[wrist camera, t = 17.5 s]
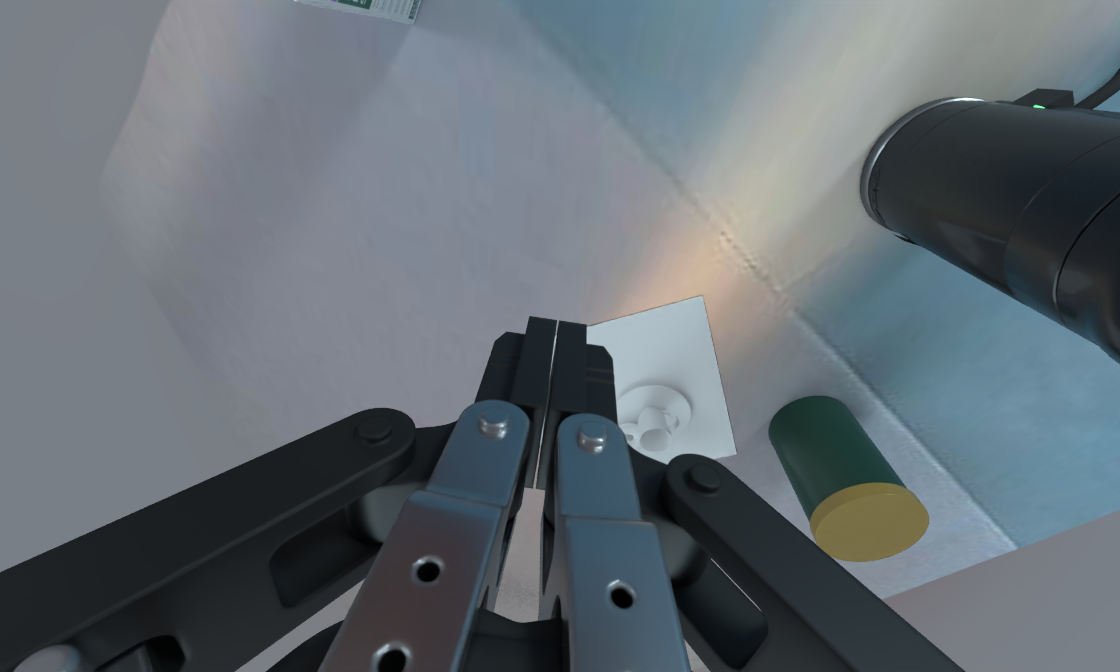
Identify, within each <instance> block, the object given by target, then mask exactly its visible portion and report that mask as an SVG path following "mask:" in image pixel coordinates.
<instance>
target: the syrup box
mask: <svg viewBox="0 0 1120 672" xmlns="http://www.w3.org/2000/svg"><path fill="white" fill-rule="evenodd" d="M294 1H296V2H299V3H303V4H308V5H312V6H317V7H321V8H328V9H333V10H339V11H345V12H351V13H357V14H363V15H368V16H374V17H379V18H384V19H389V20H394V21H398V22H401V23H404V24H408V25H413V24H414V23H415V19H416V16H417V13H418V10H419V6H420V3H421V0H294Z"/></svg>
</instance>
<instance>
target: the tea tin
mask: <svg viewBox="0 0 1120 672" xmlns="http://www.w3.org/2000/svg"><path fill="white" fill-rule="evenodd" d="M769 438H770V440H771V443H772V445H773V447H774V449H775V451H776V453H777V455H778V457H779V459H780V461H781V464H782V466H783V468H784V470H785V472H786V474H787V476H788V478H789V480H790V483H791V485H792V487H793V489H794V491H795V493H796V495H797V497H798V499H799V502H800V504H801V506H802V508H803V510H804V512H805V514H806V516H807V518H808V520H809V523H810V530H811V533H812V535H813V537H814V539H815V541H816V543H817V545H818V546H819V547H820V548H821V549H822V550H823V551H824V552H826V553H827V554H828V555H829V556H831V557H833V558H836V559H839V560H844V561H852V562H865V561H874V560H879V559H883V558H887V557H890V556H893V555H895V554H898V553H900V552H902V551H904V550H906V549H908V548H909V547H911V546H912V545H913V544H915V543H916V542H917V541H918V540H919V539H920V538H921V537H922V536H923V535H924V533H925V531H926V530H927V527H928V524H929V515H928V512H927V510H926V509H925V507H924V506H923V504H922V503H921V502H920V500H919V499H918V498H917V496H916V495H915V494H914V493H913V492H911V491H910V490H908V489H907V488H906V486H905V485H904V483H903V482H902V481H901V479H900V478H899V477H898V475H897V474H896V473H895V471H894V470H893V469H892V467H891V466H890V465H889V463H888V462H887V461H886V459H885V458H884V456H883V455H882V454H881V452H880V451H879V450H878V448H877V447H876V446H875V444H874V443H873V442H872V440H871V439H870V438H869V436H868V435H867V433H866V432H865V431H864V429H863V428H862V427H861V425H860V424H859V423H858V421H857V420H856V419H855V417H854V416H853V415H852V413H851V412H850V410H849V409H848V408H847V407H846V406H845V405H844V404H843V403H842V402H840V401H839V400H837V399H834V398H831V397H826V396H811V397H806V398H802V399H799V400H796V401H794V402H792V403H790V404H788V405H786V406H785V407H783V408H782V409H781V410H780V411H779V412H778V413H777V414H776V415H775V416H774V417H773V419H772V421H771V423H770V426H769Z"/></svg>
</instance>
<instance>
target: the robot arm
mask: <svg viewBox="0 0 1120 672" xmlns="http://www.w3.org/2000/svg"><path fill="white" fill-rule="evenodd" d="M1119 90H1120V69H1119V70H1118V71H1117V73H1116V74H1115V75H1114V76H1113V78H1112V79H1111V80H1110V81H1109V82H1107V83H1106V84H1105V85H1104V86H1102V87H1101V88H1100V89H1098V90H1097V91H1096V92H1094V93H1093V94H1091V95H1090V96H1089V97H1087V98H1086V99H1084V100H1083V101H1081V102H1080V103H1078V104H1077V105H1075V106H1074V97H1073V91H1069V90H1054V89H1039V88H1038V89H1036V90H1034V91H1032V92H1030V93H1029V94H1027V95H1025V96H1023V97H1021V98H1019V99H1017V100H1016V101H1014V102H1011V101H1001V100H1000V101H996V102H987V101H984V100H980V99H974V98H965V97H949V98H942V99H938V100H934V101H931V102H928V103H926V104H923V105H921V106H919V107H917V108H915V109H913V110H912V111H910V112H908V113H907V114H905V115H904V116H903V117H901V118H900V119H899V120H897V121H896V122H895V123H894V124H893V125H892V126H890V127H889V128H888V129H887V130H886V131H885V133H884V134H883V135H882V136H881V137H880V138H879V140H878V141H877V142H876V144H875V145H874V147H873V148H872V150H871V152H870V154H869V155H868V158H867V160H866V162H865V165H864V167H863V171H862V175H861V180H860V195H861V200H862V203H863V206H864V208H865V210H866V212H867V213H868V215H869V216H870V217H871V218H872V219H873V220H874V221H876V222H877V223H878V224H880V225H882V226H884V227H885V228H887V229H889V230H891V231H894V232H897V233H899V234H901V235H903V236H904V237H906V238H908V239H906V238H903V237H900V236H897V235H895V236H897V237H899V238H900V239H902V240H904V241H907V242H910V243H912V244H915V245H918V246H921V247H923V248H925V249H927V250H928V251H930V252H932V253H934V254H936V255H937V256H939V257H941V258H943V259H944V260H946V261H948V262H950V263H952V264H953V265H955V266H957V267H959V268H960V269H962V270H964V271H966V272H967V273H969V274H971V275H973V276H975V277H976V278H978V279H980V280H982V281H983V282H985V283H987V284H989V285H990V286H992V287H994V288H996V289H998V290H999V291H1001V292H1003V293H1005V294H1006V295H1008V296H1010V297H1012V298H1013V299H1015V300H1017V301H1019V302H1021V303H1022V304H1024V305H1026V306H1028V307H1030V308H1032V309H1033V310H1035V311H1037V312H1039V313H1041V314H1042V315H1044V316H1046V317H1048V318H1049V319H1051V320H1053V321H1055V322H1056V323H1058V324H1060V325H1062V326H1064V327H1065V328H1067V329H1069V330H1071V331H1072V332H1074V333H1076V334H1078V335H1080V336H1082V337H1083V338H1085V339H1087V340H1089V341H1091V342H1092V343H1094V344H1096V345H1098V346H1099V347H1100V348H1101V349H1102V350H1103V351H1104V352H1105V353H1106V354H1108V355H1109V356H1110V357H1111V358H1112V359H1113V360H1115V361H1116V362H1117V363H1119V364H1120V112H1110V111H1100V110H1092V109H1093V108H1095V107H1096V106H1098V105H1099V104H1101V103H1102V102H1104V101H1105V100H1107V99H1108V98H1109V97H1111V96H1112V95H1114V94H1115V93H1116V92H1117V91H1119ZM556 324H557V320H552V319H546V318H539V317H532V316H530V317H529V321H528V325H527V329H526V334H519V333H513V332H506V333H504V334H503V335H502V336H501V337H499V338H498V339H497V340H496V341H495V342H494V345H493V348H492V351H491V356H490V357H489V360H488V363H487V366H486V369H485V372H484V375H483V378H482V381H481V384H480V387H479V390H478V393H477V396H476V399H475V402H474V404H472V405H470V406H469V407H467V408H466V409H465V410H464V411H463V412H462V414H461V415H460V417H459V419H458V420H457V421H455V422H453V423H450V424H446V425H442V426H435V427H425V428H415V424H414V422H413V420H412V419H411V418H410V417H409V416H408V415H406V414H405V413H403V412H401V411H398V410H395V409H390V408H373V409H368V410H364V411H361V412H358V413H355V414H353V415H351V416H349V417H347V418H344V419H342V420H340V421H338V422H335V423H333V424H331V425H329V426H326V427H324V428H322V429H320V430H317V431H315V432H313V433H311V434H309V435H306V436H304V437H302V438H300V439H297V440H295V441H293V442H291V443H288V444H286V445H284V446H282V447H279V448H277V449H275V450H273V451H270V452H268V453H266V454H264V455H262V456H259V457H257V458H255V459H253V460H250V461H248V462H246V463H244V464H241V465H239V466H237V467H235V468H232V469H230V470H228V471H226V472H224V473H221V474H219V475H217V476H215V477H212V478H210V479H208V480H206V481H203V482H201V483H199V484H197V485H194V486H192V487H190V488H188V489H185V490H183V491H181V492H179V493H177V494H175V495H172V496H170V497H168V498H166V499H163V500H161V501H159V502H156V503H154V504H152V505H150V506H147V507H145V508H143V509H141V510H139V511H136V512H134V513H132V514H130V515H128V516H125V517H123V518H121V519H118V520H116V521H114V522H112V523H110V524H107V525H105V526H103V527H101V528H98V529H96V530H94V531H92V532H89V533H87V534H85V535H83V536H80V537H78V538H76V539H74V540H72V541H69V542H67V543H65V544H63V545H60V546H58V547H56V548H54V549H51V550H49V551H47V552H45V553H42V554H40V555H38V556H36V557H33V558H31V559H29V560H27V561H24V562H22V563H20V564H18V565H15V566H13V567H11V568H9V569H7V570H4V571H2V572H0V672H235V671H236V670H237V669H239V668H240V667H241V666H243V665H244V664H246V663H247V662H249V661H250V660H251V659H253V658H254V657H255V656H257V655H258V654H260V653H261V652H262V651H264V650H265V649H267V648H268V647H270V646H271V645H272V644H274V643H275V642H276V641H278V640H279V639H281V638H282V637H283V636H285V635H286V634H288V633H289V632H290V631H292V630H293V629H295V628H296V627H297V626H299V625H300V624H302V623H303V622H304V621H306V620H307V619H309V618H310V617H311V616H313V615H314V614H316V613H317V612H318V611H320V610H321V609H323V608H324V607H325V606H327V605H328V604H330V603H331V602H332V601H334V600H335V599H337V598H338V597H339V596H341V595H342V594H344V593H345V592H346V591H348V590H349V589H351V588H352V587H353V586H355V585H356V584H358V583H359V582H360V581H362V580H363V579H365V580H364V582H363V584H362V586H361V588H360V590H359V592H358V594H357V596H356V598H355V600H354V602H353V604H352V606H351V607H350V609H349V611H348V614H347V615H346V617H345V619H344V620H342V621H340V622H338V623H336V624H334V625H332V626H330V627H328V628H326V629H324V630H322V631H321V632H319V633H317V634H316V635H314V636H313V637H311V638H310V639H308V640H306V641H305V642H303V643H302V644H301V645H300V646H298V647H297V648H295V649H294V650H293V651H292V652H290V653H289V654H288V655H286V656H285V657H284V658H282V659H281V660H280V661H279V662H277V663H276V664H275V665H274V666H272V667H271V668H270V669H269V670H267V671H266V672H693V671H691V667H690V663H689V659H688V654H687V650H686V646H685V641H684V639H685V640H686V641H687V643H688V644H689V645H690V646H691V648H692V649H693V650H694V651H695V653H696V654H697V655H698V656H699V658H700V659H701V660H702V661H703V663H704V664H705V665H706V666H707V668H708V669H709V670H710V671H711V672H965V671H964V670H963V669H962V668H960V667H959V666H958V665H957V664H956V663H955V662H953V661H952V660H951V659H950V658H949V657H948V656H946V655H945V654H944V653H943V652H942V651H941V650H939V649H938V648H937V647H936V646H935V645H933V644H932V643H931V642H930V641H929V640H927V639H926V638H925V637H924V636H923V635H922V634H921V633H919V632H918V631H917V630H916V629H915V628H913V627H912V626H911V625H910V624H909V623H908V622H907V621H905V620H904V619H903V618H902V617H901V616H899V615H898V614H897V613H896V612H895V611H894V610H892V609H891V608H890V607H889V606H888V605H887V604H885V603H884V602H883V601H882V600H881V599H880V598H878V597H877V596H876V595H875V594H874V593H872V592H871V591H870V590H869V589H868V588H867V587H865V586H864V585H863V584H862V583H861V582H860V581H858V580H857V579H856V578H855V577H854V576H853V575H851V574H850V573H849V572H848V571H847V570H845V569H844V568H843V567H842V566H841V565H840V564H838V563H837V562H836V561H835V560H834V559H833V558H831V557H830V556H829V555H828V554H827V553H826V552H824V551H823V550H822V549H821V548H820V547H819V546H817V545H816V544H815V543H814V542H813V541H811V540H810V539H809V538H808V537H807V536H806V535H804V534H803V533H802V532H801V531H800V530H799V529H797V528H796V527H795V526H794V525H793V524H792V523H790V522H789V521H788V520H787V519H786V518H784V517H783V516H782V515H781V514H780V513H779V512H777V511H776V510H775V509H774V508H773V507H772V506H770V505H769V504H768V503H767V502H766V501H765V500H763V499H762V498H761V497H760V496H759V495H757V494H756V493H755V492H754V491H753V490H752V489H750V488H749V487H748V486H747V485H746V484H745V483H743V482H742V481H741V480H740V479H739V478H738V477H736V476H735V475H734V474H733V473H732V472H730V471H729V470H728V469H727V468H726V467H724V466H723V465H722V464H720V463H719V462H717V461H715V460H713V459H711V458H709V457H706V456H703V455H699V454H681V455H678V456H676V457H674V458H673V459H671V461H670V462H669V463H668V465H667V464H665V463H662V462H660V461H657V460H655V459H652V458H650V457H648V456H645V455H643V454H641V453H640V452H638V451H636V450H635V449H634V448H632V447H631V446H630V445H629V444H628V443H627V439H626V436H625V434H624V432H623V431H622V429H621V428H620V427H619V426H618V418H617V406H616V393H615V385H614V383H615V380H614V367H613V358H612V357H611V355H610V354H609V353H608V351H607V350H606V348H605V347H604V346H599V345H593V344H587V325H586V324H579V323H573V322H566V321H559V325H558V331H557V337H556V343H555V349H554V355H553V348H554V340H555V332H556ZM552 356H553V362H552ZM551 364H552V368H551ZM550 372H551V374H550ZM549 380H550V381H549ZM544 417H545V419H544ZM543 423H544V427H543ZM542 429H543V435H542ZM541 436H542V443H541V451H540V459H539V467H538V475H537V483H536V489H542V490H545V499H544V507H543V512H542V518H541V532H540V587H539V615H538V621H534V622H527V623H520V622H515V621H512V620H510V619H507V618H505V617H503V616H500V615H498V614H496V613H494V608H495V603H496V599H497V595H498V591H499V587H500V583H501V579H502V575H503V571H504V567H505V563H506V559H507V555H508V551H509V547H510V543H511V539H512V535H513V531H514V527H515V523H516V517H517V512H518V511H519V509H520V507H521V504H522V499H523V492H524V487H526V488H533V484H534V478H535V472H536V466H537V460H538V454H539V448H540V442H541ZM711 558H712V559H713V560H714V561H715V562H716V563H717V564H718V565H719V566H720V567H721V568H722V569H723V570H724V571H725V573H726V574H727V575H728V576H729V577H730V578H731V579H732V580H733V581H734V582H735V583H736V584H737V585H738V586H739V587H740V588H741V589H742V590H743V591H744V592H745V593H746V594H747V595H748V596H749V597H750V598H751V600H752V601H753V602H754V603H755V604H756V605H757V606H758V607H759V608H760V610H761V611H762V612H761V611H760V610H759V609H758V608H757V607H756V606H755V605H754V604H753V603H752V602H751V601H750V600H749V599H748V598H747V596H746V595H745V594H744V593H743V592H742V591H741V590H740V589H739V588H738V587H737V586H736V585H735V584H734V583H733V582H732V581H731V580H730V579H729V578H728V577H727V576H726V575H725V574H724V572H723V571H722V570H721V569H720V568H719V567H718V566H717V565H716V564H715V563H714V562H713V561H712V560H711Z"/></svg>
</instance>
